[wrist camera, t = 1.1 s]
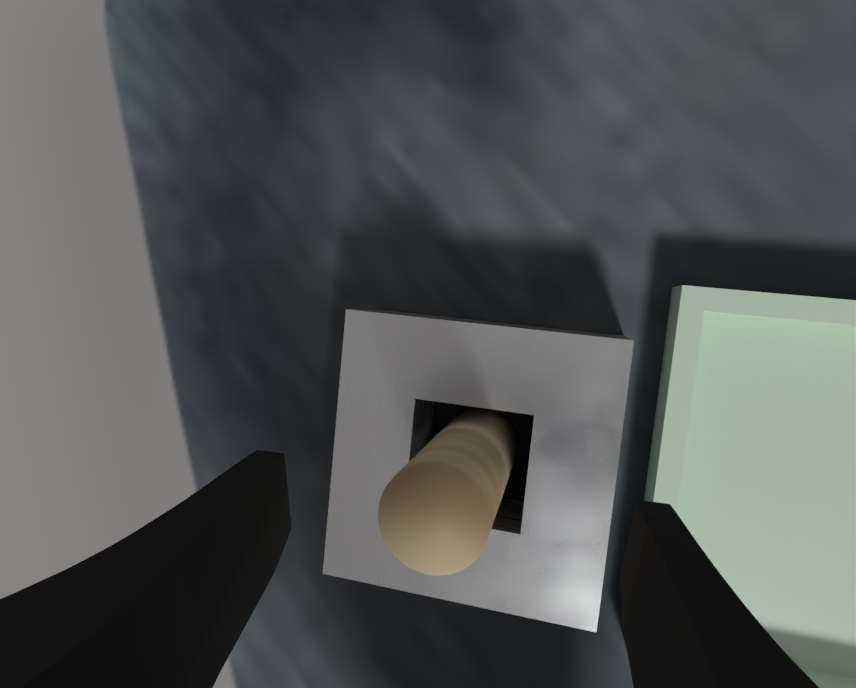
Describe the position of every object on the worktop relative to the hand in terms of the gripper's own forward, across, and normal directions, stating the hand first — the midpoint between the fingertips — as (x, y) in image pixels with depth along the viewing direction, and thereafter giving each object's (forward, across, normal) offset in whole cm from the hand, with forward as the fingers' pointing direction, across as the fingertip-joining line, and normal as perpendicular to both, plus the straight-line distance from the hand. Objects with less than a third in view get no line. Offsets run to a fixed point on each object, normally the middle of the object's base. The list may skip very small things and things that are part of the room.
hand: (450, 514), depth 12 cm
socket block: (+11, 0, +6) cm, 12 cm away
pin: (+11, 0, +6) cm, 12 cm away
